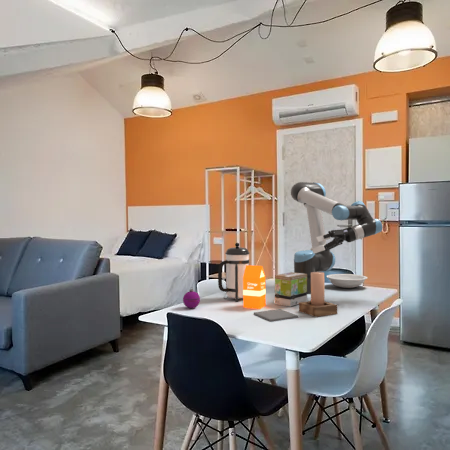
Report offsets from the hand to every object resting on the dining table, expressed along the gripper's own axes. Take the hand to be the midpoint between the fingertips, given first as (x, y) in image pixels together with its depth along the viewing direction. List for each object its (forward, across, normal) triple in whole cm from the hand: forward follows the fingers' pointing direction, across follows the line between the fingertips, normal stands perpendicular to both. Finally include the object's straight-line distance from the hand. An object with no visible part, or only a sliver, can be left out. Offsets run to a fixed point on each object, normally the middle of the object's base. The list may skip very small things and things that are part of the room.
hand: (314, 245), depth 204 cm
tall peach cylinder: (+15, -8, -34) cm, 38 cm away
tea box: (+21, +10, -22) cm, 32 cm away
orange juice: (+40, +3, -20) cm, 44 cm away
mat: (+34, -12, -30) cm, 48 cm away
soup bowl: (-23, +48, -14) cm, 55 cm away
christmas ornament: (+69, +1, -11) cm, 70 cm away
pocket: (+15, -8, -34) cm, 38 cm away
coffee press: (+46, +18, -9) cm, 50 cm away
